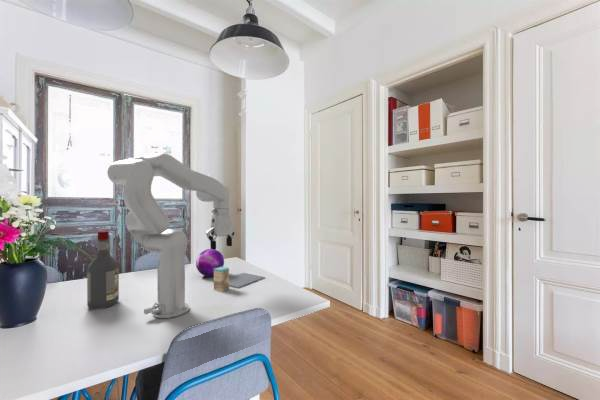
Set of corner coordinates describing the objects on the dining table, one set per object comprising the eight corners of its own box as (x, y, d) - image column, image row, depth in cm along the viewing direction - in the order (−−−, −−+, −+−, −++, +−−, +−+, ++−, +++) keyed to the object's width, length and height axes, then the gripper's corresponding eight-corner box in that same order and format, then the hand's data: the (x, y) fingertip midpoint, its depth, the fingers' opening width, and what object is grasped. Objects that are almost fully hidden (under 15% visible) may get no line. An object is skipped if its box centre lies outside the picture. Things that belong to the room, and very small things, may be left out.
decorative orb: (229, 274, 154) (229, 248, 154) (208, 281, 141) (208, 252, 141) (212, 270, 162) (212, 245, 162) (190, 276, 149) (190, 249, 149)
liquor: (84, 310, 105) (84, 233, 105) (95, 301, 114) (95, 230, 113) (111, 307, 107) (111, 232, 107) (120, 299, 116) (120, 230, 116)
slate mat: (238, 288, 130) (238, 287, 130) (215, 282, 139) (215, 281, 139) (264, 278, 147) (264, 277, 147) (243, 273, 156) (243, 272, 156)
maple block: (220, 291, 126) (220, 270, 126) (213, 289, 128) (213, 268, 128) (229, 288, 130) (229, 268, 130) (222, 286, 133) (221, 266, 133)
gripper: (211, 213, 120) (212, 251, 120) (240, 211, 134) (240, 245, 135) (201, 212, 124) (201, 249, 124) (229, 211, 138) (229, 244, 139)
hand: (221, 247), depth 129 cm, fingers open, 9 cm apart
